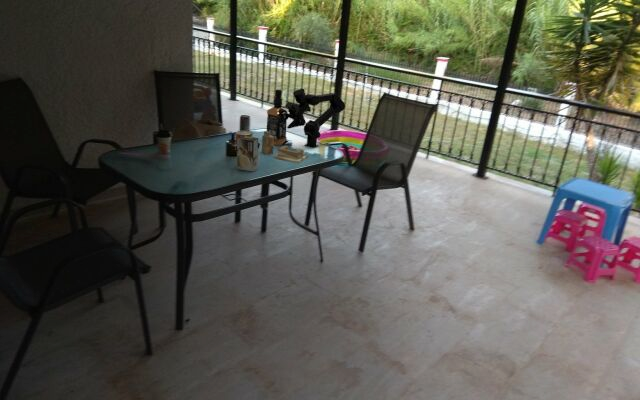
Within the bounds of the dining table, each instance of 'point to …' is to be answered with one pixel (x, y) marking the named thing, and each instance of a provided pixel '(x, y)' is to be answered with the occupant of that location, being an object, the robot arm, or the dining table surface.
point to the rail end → (267, 143)
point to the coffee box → (247, 153)
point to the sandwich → (290, 155)
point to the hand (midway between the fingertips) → (281, 126)
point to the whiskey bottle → (272, 119)
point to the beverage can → (243, 134)
